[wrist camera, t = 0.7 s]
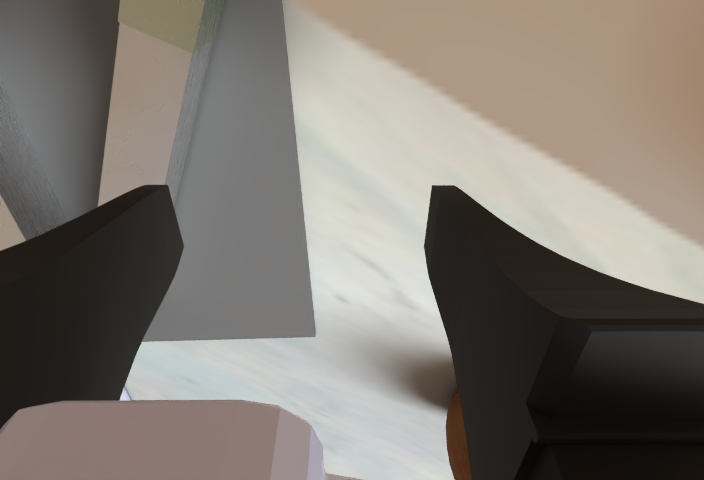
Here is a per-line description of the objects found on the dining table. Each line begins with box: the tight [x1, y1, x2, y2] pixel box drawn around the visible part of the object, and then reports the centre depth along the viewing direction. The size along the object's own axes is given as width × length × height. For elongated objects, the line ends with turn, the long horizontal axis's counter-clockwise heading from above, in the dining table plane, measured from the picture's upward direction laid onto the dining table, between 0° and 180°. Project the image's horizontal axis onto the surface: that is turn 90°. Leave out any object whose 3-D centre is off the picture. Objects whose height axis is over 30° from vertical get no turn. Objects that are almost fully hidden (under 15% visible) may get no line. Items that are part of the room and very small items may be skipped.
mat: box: [0, 0, 316, 342], centre depth 20 cm, size 20×27×1 cm
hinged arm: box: [98, 0, 224, 207], centre depth 19 cm, size 21×4×3 cm, turn 156°
